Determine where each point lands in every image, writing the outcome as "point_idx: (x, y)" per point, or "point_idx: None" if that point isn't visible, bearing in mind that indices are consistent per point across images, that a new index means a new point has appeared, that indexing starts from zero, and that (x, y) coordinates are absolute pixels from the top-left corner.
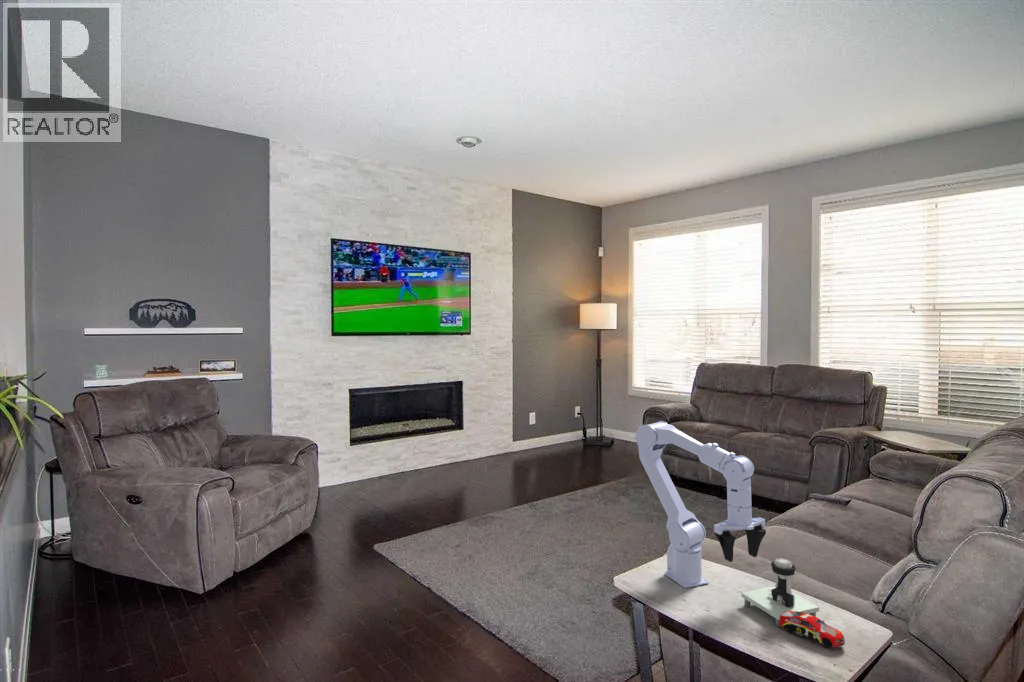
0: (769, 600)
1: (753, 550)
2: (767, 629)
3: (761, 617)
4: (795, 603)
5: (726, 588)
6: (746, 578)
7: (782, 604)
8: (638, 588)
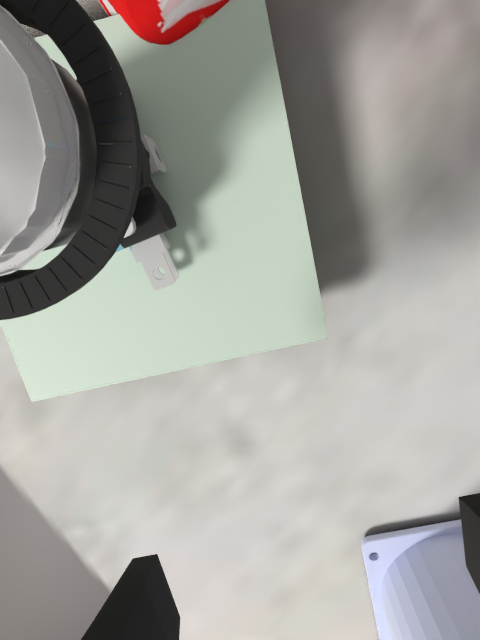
0: (202, 214)
1: (145, 635)
2: (329, 20)
3: None
4: None
5: (296, 485)
6: None
7: None
8: None
